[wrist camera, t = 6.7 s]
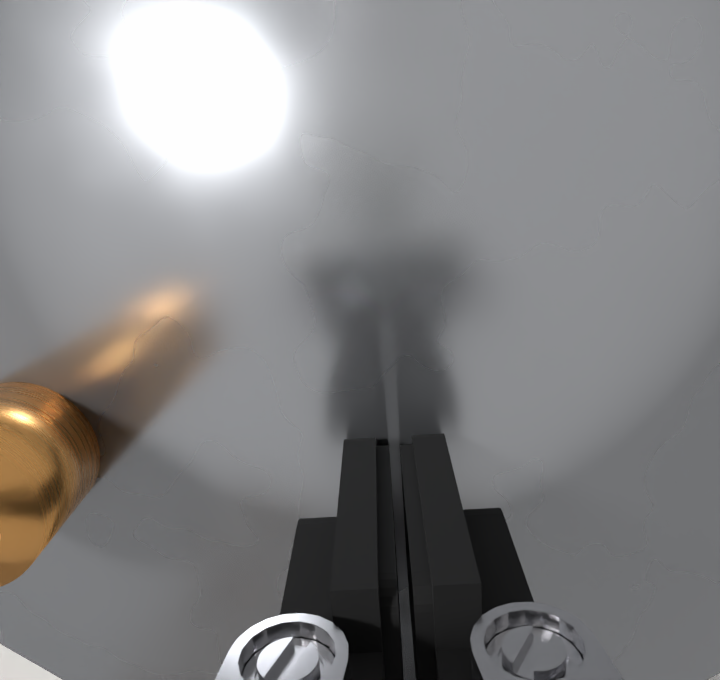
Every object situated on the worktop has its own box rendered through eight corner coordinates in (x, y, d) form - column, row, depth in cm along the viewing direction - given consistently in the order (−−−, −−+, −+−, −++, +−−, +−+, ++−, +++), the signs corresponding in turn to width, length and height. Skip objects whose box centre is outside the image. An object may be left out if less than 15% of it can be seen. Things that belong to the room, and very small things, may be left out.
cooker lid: (-537, -684, 8) (-1090, -1183, 5) (1256, -911, 7) (1887, -1657, 4) (-13, 917, 16) (-104, 1103, 13) (880, 887, 15) (1008, 1076, 12)
